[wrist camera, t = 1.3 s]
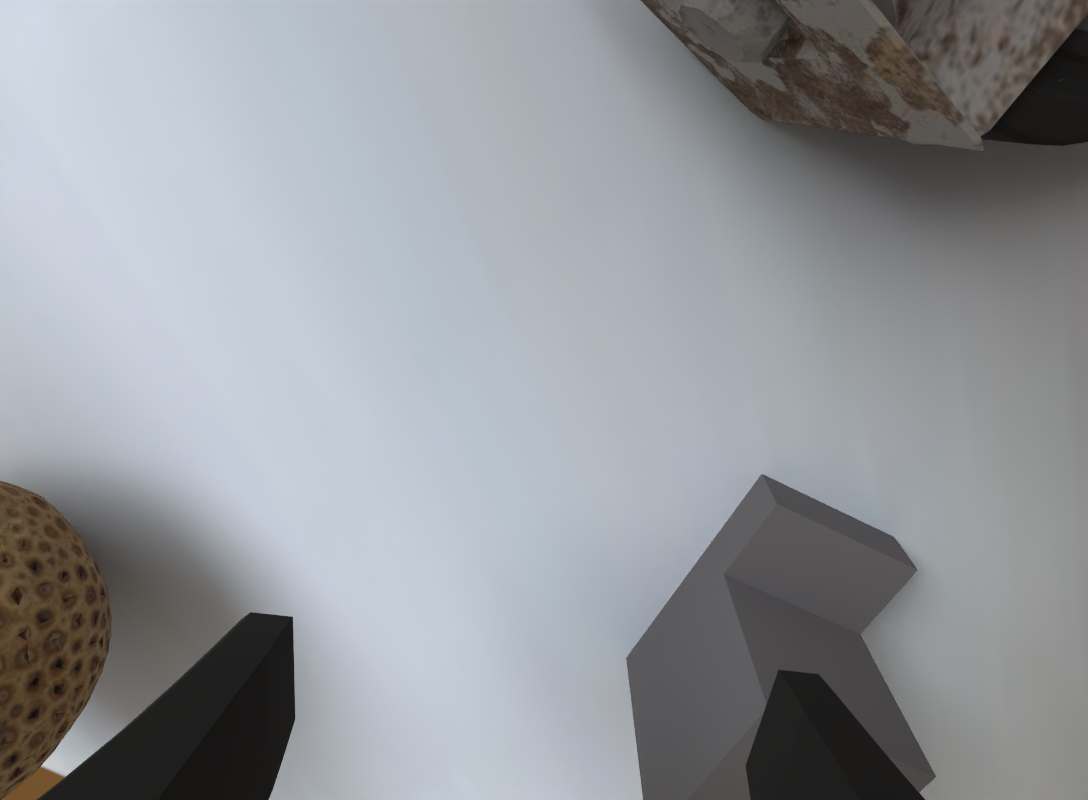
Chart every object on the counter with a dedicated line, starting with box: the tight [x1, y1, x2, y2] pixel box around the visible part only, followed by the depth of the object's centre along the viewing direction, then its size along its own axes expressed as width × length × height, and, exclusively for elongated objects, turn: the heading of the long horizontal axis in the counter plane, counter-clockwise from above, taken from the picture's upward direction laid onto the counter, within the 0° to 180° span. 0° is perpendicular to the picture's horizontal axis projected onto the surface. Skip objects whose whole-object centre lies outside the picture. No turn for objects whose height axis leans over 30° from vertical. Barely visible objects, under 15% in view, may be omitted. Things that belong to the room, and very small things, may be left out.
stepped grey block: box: [626, 474, 936, 800], centre depth 19 cm, size 4×8×6 cm, turn 153°
